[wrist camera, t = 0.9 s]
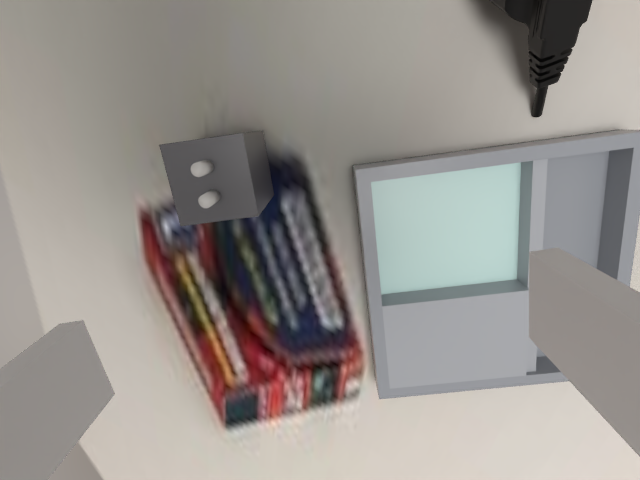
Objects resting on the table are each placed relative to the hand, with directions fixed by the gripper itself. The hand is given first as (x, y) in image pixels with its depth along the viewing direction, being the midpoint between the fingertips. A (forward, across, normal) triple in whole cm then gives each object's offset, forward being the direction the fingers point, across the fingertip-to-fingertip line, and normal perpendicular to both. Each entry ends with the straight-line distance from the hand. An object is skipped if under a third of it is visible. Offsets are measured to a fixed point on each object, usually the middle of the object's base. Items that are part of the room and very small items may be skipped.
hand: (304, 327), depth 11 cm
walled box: (+19, +13, -8) cm, 25 cm away
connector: (+19, -6, +3) cm, 21 cm away
